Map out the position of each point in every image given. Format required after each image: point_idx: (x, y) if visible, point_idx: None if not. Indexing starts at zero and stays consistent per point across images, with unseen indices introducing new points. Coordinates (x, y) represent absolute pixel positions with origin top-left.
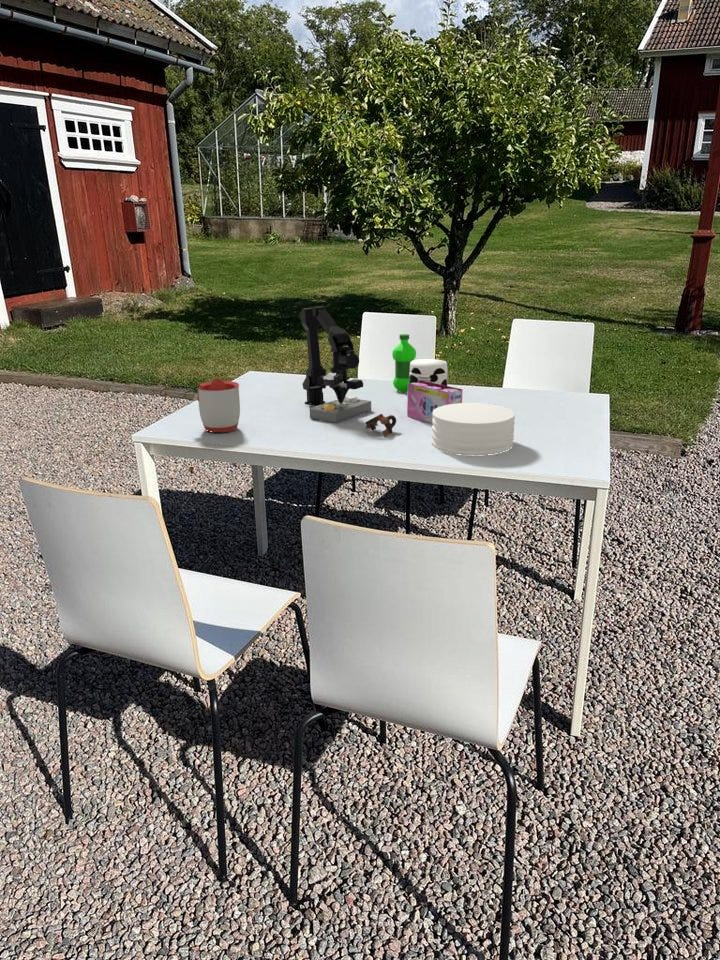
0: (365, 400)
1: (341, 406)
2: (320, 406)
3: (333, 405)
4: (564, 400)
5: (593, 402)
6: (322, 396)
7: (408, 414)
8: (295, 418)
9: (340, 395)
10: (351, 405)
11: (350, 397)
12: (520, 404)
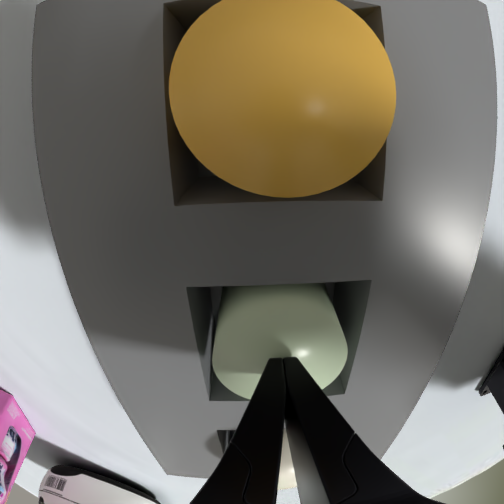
0: (206, 476)
1: (230, 313)
2: (461, 142)
3: (175, 103)
4: (34, 490)
5: (15, 482)
6: (502, 400)
7: (2, 397)
8: (492, 3)
9: (254, 451)
10: (161, 379)
11: (287, 474)
12: (33, 481)
